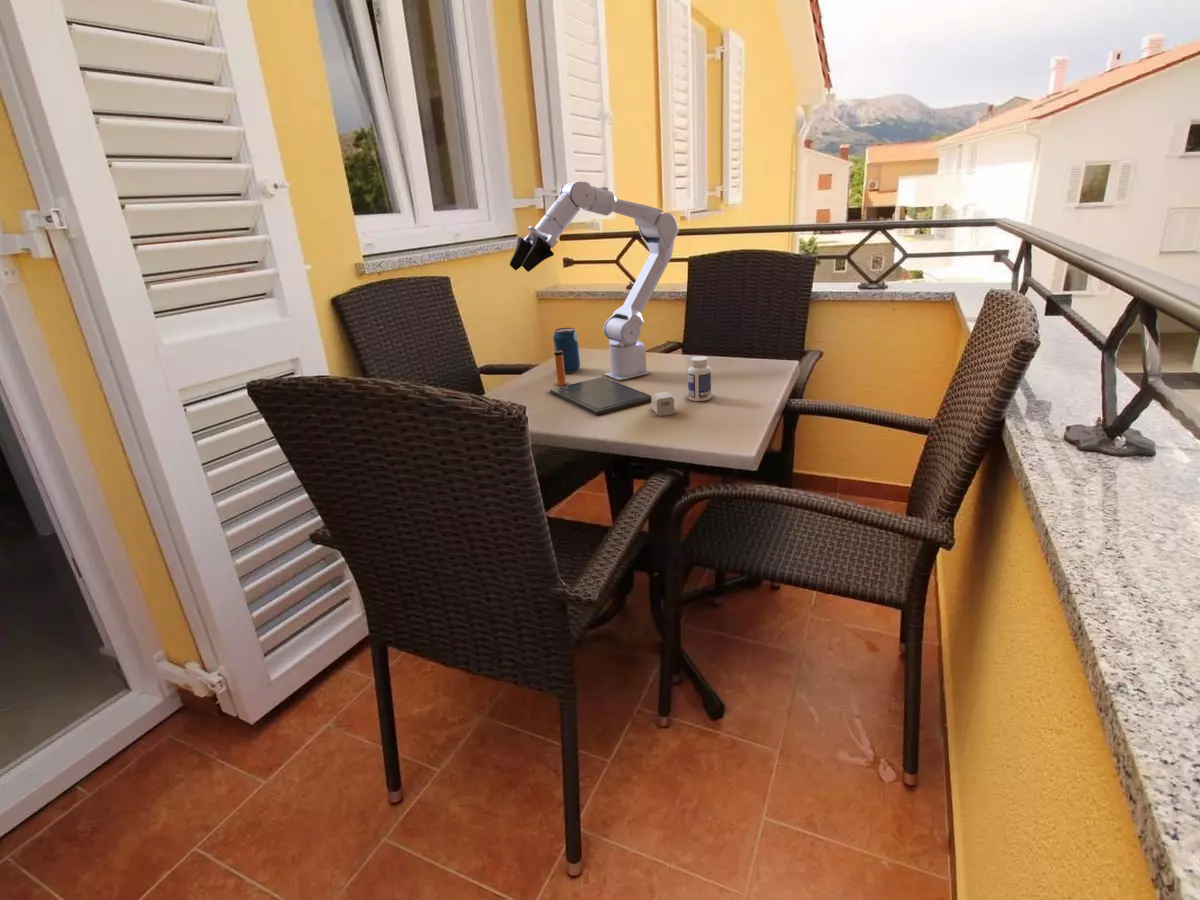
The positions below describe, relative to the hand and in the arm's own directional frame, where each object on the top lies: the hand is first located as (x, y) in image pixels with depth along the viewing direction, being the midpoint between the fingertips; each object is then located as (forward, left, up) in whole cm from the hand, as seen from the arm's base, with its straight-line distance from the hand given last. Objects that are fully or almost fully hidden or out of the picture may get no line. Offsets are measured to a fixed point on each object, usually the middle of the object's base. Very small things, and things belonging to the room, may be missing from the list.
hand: (518, 268), depth 148 cm
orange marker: (-11, -5, -32) cm, 34 cm away
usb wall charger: (-18, +31, -32) cm, 48 cm away
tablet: (-13, +12, -32) cm, 36 cm away
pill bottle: (-30, +30, -32) cm, 53 cm away
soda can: (-19, -16, -32) cm, 40 cm away
